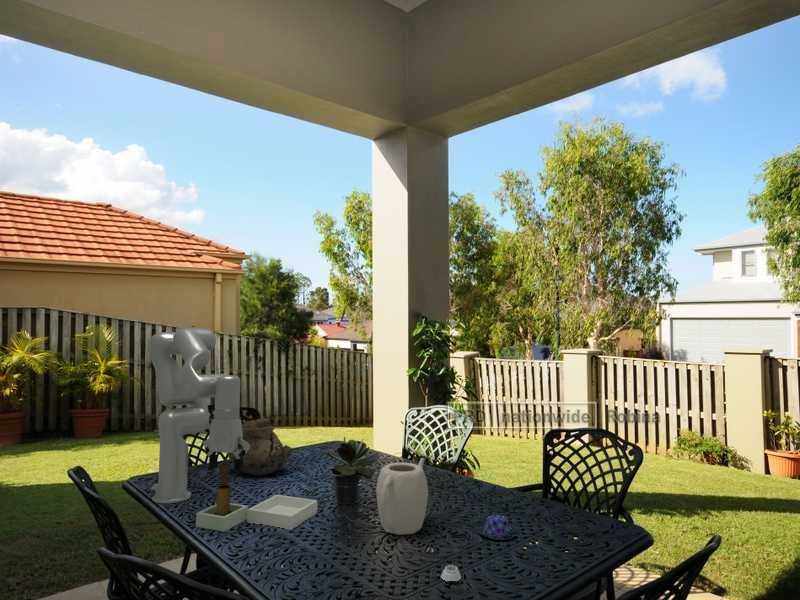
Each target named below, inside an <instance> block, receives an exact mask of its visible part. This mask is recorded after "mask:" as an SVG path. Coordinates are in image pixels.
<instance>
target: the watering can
mask: <svg viewBox="0 0 800 600" xmlns="http://www.w3.org/2000/svg"><path fill="white" fill-rule="evenodd" d="M425 459H426V458H423V457H421V458H420V459H419V462H418V464H415V463H412V462H392V463H388V464H385V466H383V467H382V468H381V469H380V471H379V474H378V476H377V477H378V478H377V483H376V489H375V490H376V491H375V493H376V503H377V511H378V516H379V520H380V524H381V527H382V528H383V530H384V531H385V532H386V533H390V534H394V535H397V536H401V535H414V534H415V533H417V532H418V531H420V530H421V529H422V528H423V524H424V522H425V521H424V520H425V519H426V518H425V517H426V512H427V507H428V506H427V505H428V499H429V497H428V496H429V488H428V480H427V477H426V475H425V474H426V473H425V472H424V469H423V468H424V463H425Z"/></svg>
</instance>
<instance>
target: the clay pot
mask: <svg viewBox="0 0 800 600" xmlns="http://www.w3.org/2000/svg"><path fill="white" fill-rule="evenodd" d="M268 421H269V419H268V418H265V417H264V418H259V419H258V418H257V419H253V420H247V421H244V422H243V424H242V433H243V440H245V441H246V442H248V443H249V444H250V448H249V450H248V453H247V454H246V455H245V457H243V467H242V470H241V471H242V472H243V473H245V474H247V475H251V474H252V476H266V475H270V474H272V473H274V472H278V471H279V470H281V469H282V468H283V467H284V466H286V464H287V463H288V461H290V457H291V454H292V452H291V449H292V447H291V446H290V445H289V446H288V445H287V444H283V443H282V442H281V439H279V437H278V435H277V434H276V433H275V432H274V431H275V427H274V426H273V425H270V426H266V427H265V425H266V424H267V423H268ZM243 448H244V447H243V446H242V450H243ZM227 454H228V455H227V458H228V459H229V460H231V461H233V462H234V460H235V459H236V457H235V455H234V453H233V452H232V453H227Z"/></svg>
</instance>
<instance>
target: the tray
mask: <svg viewBox="0 0 800 600" xmlns="http://www.w3.org/2000/svg"><path fill="white" fill-rule="evenodd" d="M317 513H318V500H316V499H310V498H309V499H308V498H304V497H303V498H302V497H295V496H289V495H282V494H275V495H273V496H271V497H270V498H269V497H268V498H267V499H265V500H264V501H261V502H260V503H257V504H256V505H253V506H252V507H250V508H249V507H248V511H247V520H246V523H247V522H248V524H253V523H255V525H259V524H263V525H262V526H265V525H270V526H269V527H271V526H275V527H274V528H276V527H280V528H279V529H282V528H284V530H287V531H288V530H289V531H292V530H293V529H295V528H296V527H298V526H299V525H301V524H303V522H306V521H307V520H309V519H310V518H312V517H313V516H314V515H316V514H317ZM308 518H309V519H308ZM305 520H306V521H305Z"/></svg>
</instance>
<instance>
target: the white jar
mask: <svg viewBox="0 0 800 600" xmlns="http://www.w3.org/2000/svg"><path fill="white" fill-rule="evenodd" d="M461 577H462V575H461V573H460V571H459V569H458V566H456V565H453V564H449V565H446V566H445V568H444V569H443V570H442V573H441V574H440V579H441V578H442V579H443V580H445V581H458V580H460V579H461Z"/></svg>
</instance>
